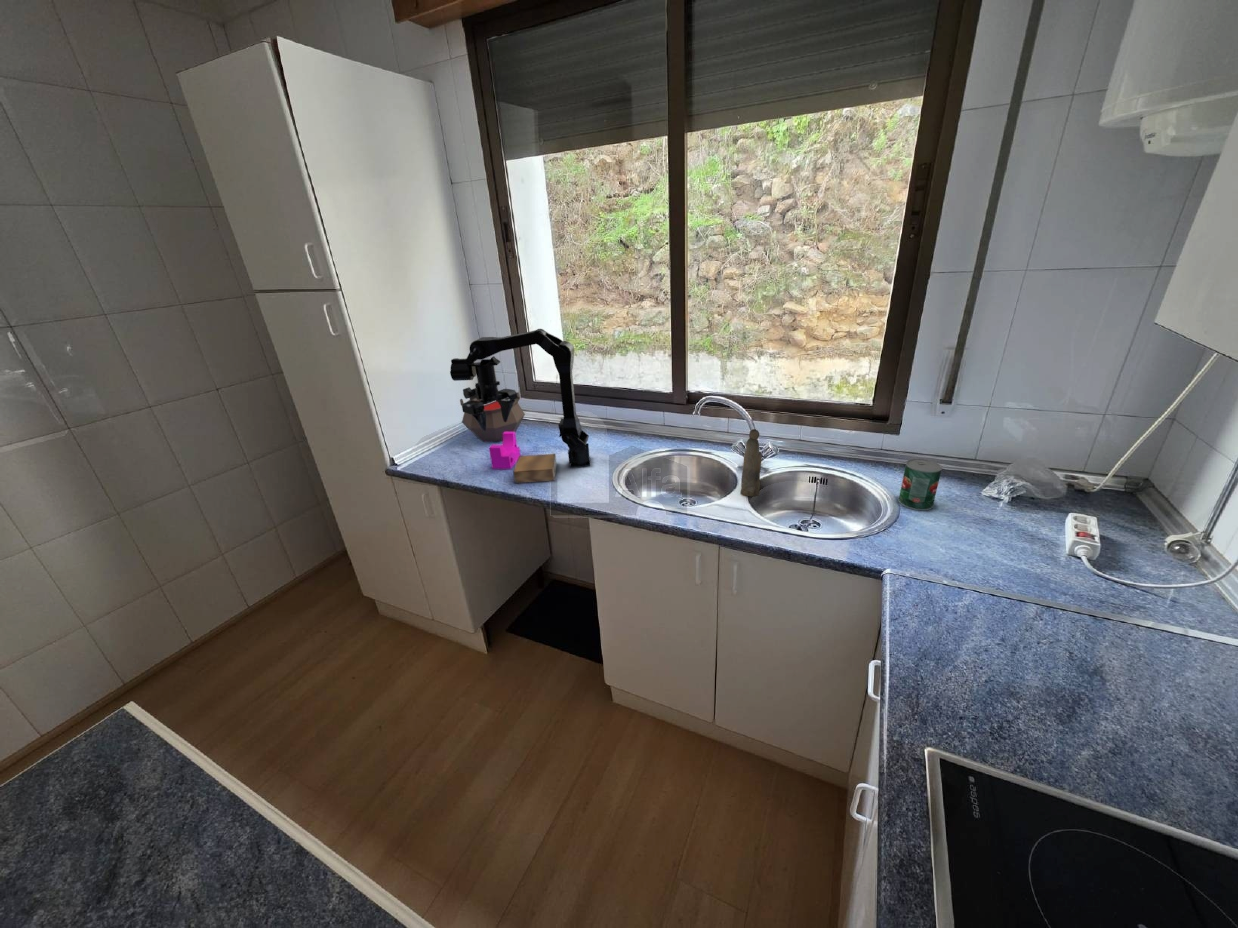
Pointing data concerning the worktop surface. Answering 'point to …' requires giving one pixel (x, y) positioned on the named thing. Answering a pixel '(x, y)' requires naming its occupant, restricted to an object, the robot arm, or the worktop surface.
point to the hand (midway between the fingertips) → (495, 426)
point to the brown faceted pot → (494, 421)
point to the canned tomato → (919, 484)
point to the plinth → (535, 468)
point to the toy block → (505, 452)
